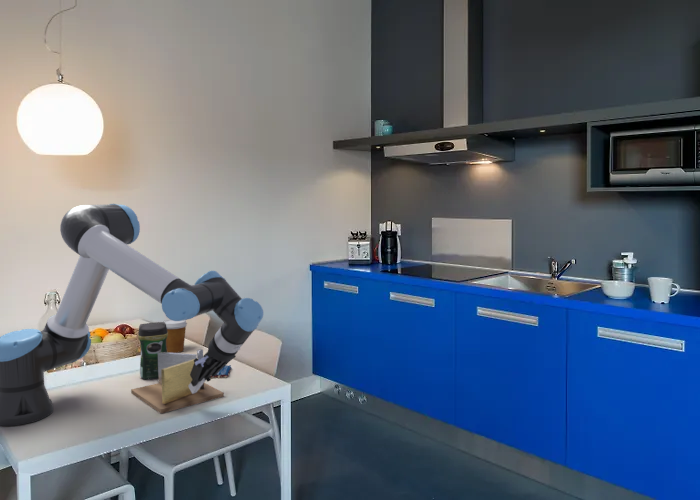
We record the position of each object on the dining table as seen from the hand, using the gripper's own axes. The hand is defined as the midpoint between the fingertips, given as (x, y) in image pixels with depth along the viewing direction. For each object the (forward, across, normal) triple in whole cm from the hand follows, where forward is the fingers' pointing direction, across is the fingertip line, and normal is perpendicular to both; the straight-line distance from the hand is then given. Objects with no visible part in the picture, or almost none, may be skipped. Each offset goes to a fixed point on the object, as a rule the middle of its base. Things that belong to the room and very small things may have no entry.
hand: (192, 389), depth 162 cm
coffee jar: (+28, +8, +20) cm, 36 cm away
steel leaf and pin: (+15, +6, +7) cm, 18 cm away
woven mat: (+19, +23, +10) cm, 31 cm away
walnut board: (+13, +3, +5) cm, 14 cm away
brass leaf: (+7, 0, +2) cm, 7 cm away
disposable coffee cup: (+44, +30, +36) cm, 64 cm away
